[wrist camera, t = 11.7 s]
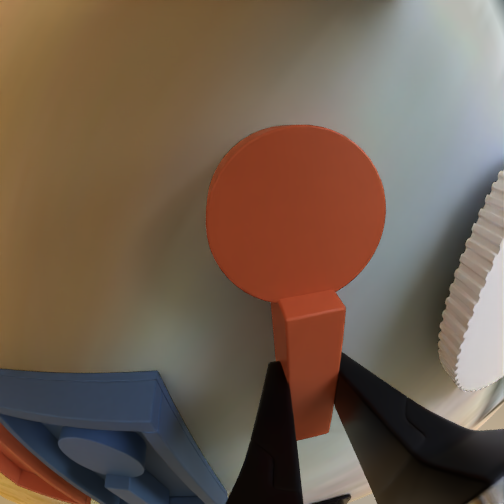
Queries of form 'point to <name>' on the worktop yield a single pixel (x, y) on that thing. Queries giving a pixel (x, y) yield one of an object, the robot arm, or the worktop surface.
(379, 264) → the worktop surface
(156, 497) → the blue spoon
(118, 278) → the worktop surface
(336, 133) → the terracotta spoon
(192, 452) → the blue tray
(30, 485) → the terracotta tray
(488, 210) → the plastic lid
